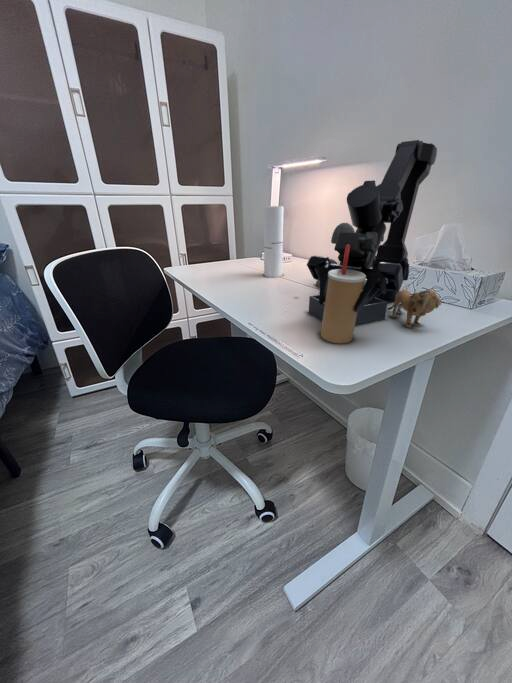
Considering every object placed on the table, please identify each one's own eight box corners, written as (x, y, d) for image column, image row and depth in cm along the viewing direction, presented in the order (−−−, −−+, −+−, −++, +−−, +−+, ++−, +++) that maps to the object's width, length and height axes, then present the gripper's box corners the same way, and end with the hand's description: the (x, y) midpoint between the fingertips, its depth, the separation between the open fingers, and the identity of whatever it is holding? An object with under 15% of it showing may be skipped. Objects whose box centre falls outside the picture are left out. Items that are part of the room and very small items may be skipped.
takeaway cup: (340, 326, 66) (355, 239, 57) (359, 340, 61) (380, 246, 51) (313, 331, 64) (325, 241, 55) (331, 346, 59) (347, 249, 49)
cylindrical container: (282, 277, 113) (284, 206, 102) (264, 277, 113) (264, 206, 102) (281, 272, 120) (282, 206, 109) (264, 273, 120) (263, 206, 109)
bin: (351, 305, 81) (353, 289, 79) (384, 319, 71) (388, 301, 69) (308, 312, 76) (309, 296, 74) (337, 329, 66) (339, 310, 64)
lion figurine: (438, 331, 64) (449, 291, 60) (417, 334, 63) (427, 293, 59) (395, 310, 77) (402, 276, 73) (377, 311, 76) (383, 277, 72)
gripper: (314, 215, 60) (283, 278, 57) (412, 216, 49) (380, 293, 46) (327, 250, 69) (301, 306, 66) (413, 257, 58) (386, 324, 55)
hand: (336, 307), depth 58 cm, fingers closed on takeaway cup, 7 cm apart
